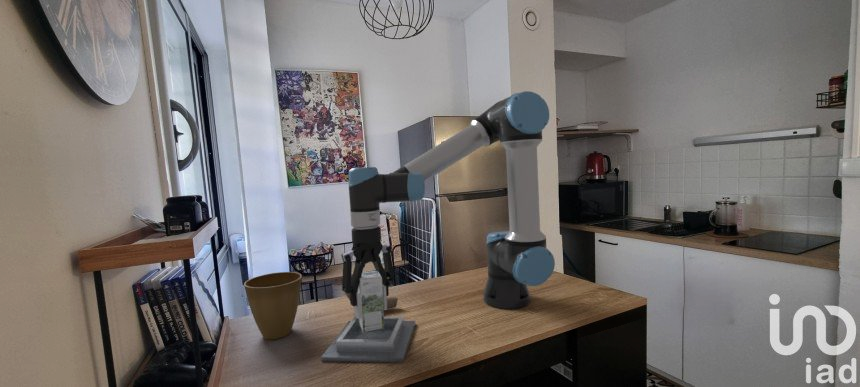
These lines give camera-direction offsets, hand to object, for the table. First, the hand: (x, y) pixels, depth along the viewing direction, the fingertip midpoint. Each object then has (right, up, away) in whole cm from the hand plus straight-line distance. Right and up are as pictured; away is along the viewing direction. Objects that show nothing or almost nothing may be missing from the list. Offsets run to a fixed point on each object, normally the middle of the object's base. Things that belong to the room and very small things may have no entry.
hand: (370, 312), depth 92 cm
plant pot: (-28, -9, +8) cm, 30 cm away
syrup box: (0, -4, 0) cm, 4 cm away
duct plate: (0, -8, +1) cm, 8 cm away
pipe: (-3, -7, +20) cm, 21 cm away
